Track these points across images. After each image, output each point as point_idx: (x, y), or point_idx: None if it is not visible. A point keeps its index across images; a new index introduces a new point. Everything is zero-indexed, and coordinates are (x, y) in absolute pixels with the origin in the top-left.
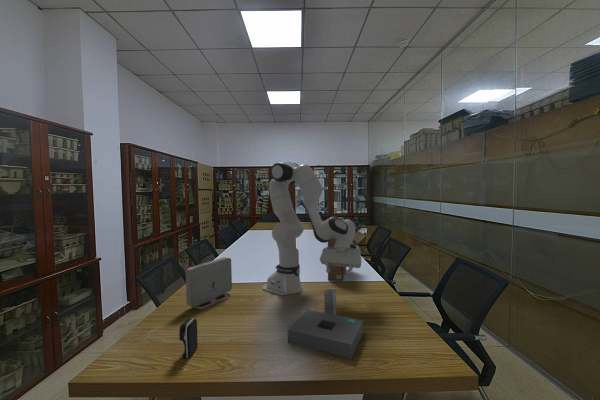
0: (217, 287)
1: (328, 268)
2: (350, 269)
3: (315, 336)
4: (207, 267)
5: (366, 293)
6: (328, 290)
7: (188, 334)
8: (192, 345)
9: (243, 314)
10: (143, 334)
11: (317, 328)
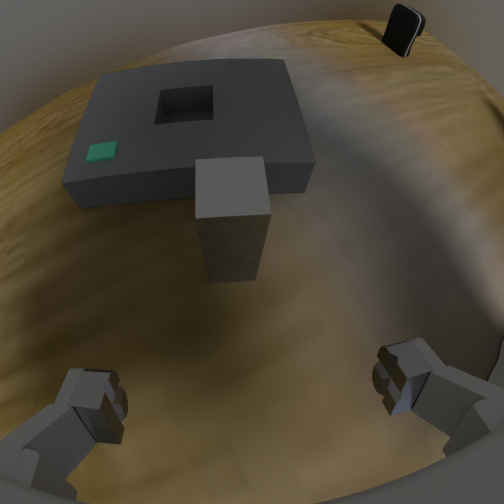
0: None
1: (417, 367)
2: (37, 429)
3: (196, 61)
4: None
5: None
6: (245, 184)
7: (392, 11)
8: (392, 34)
9: (470, 162)
10: (478, 79)
11: (205, 81)
